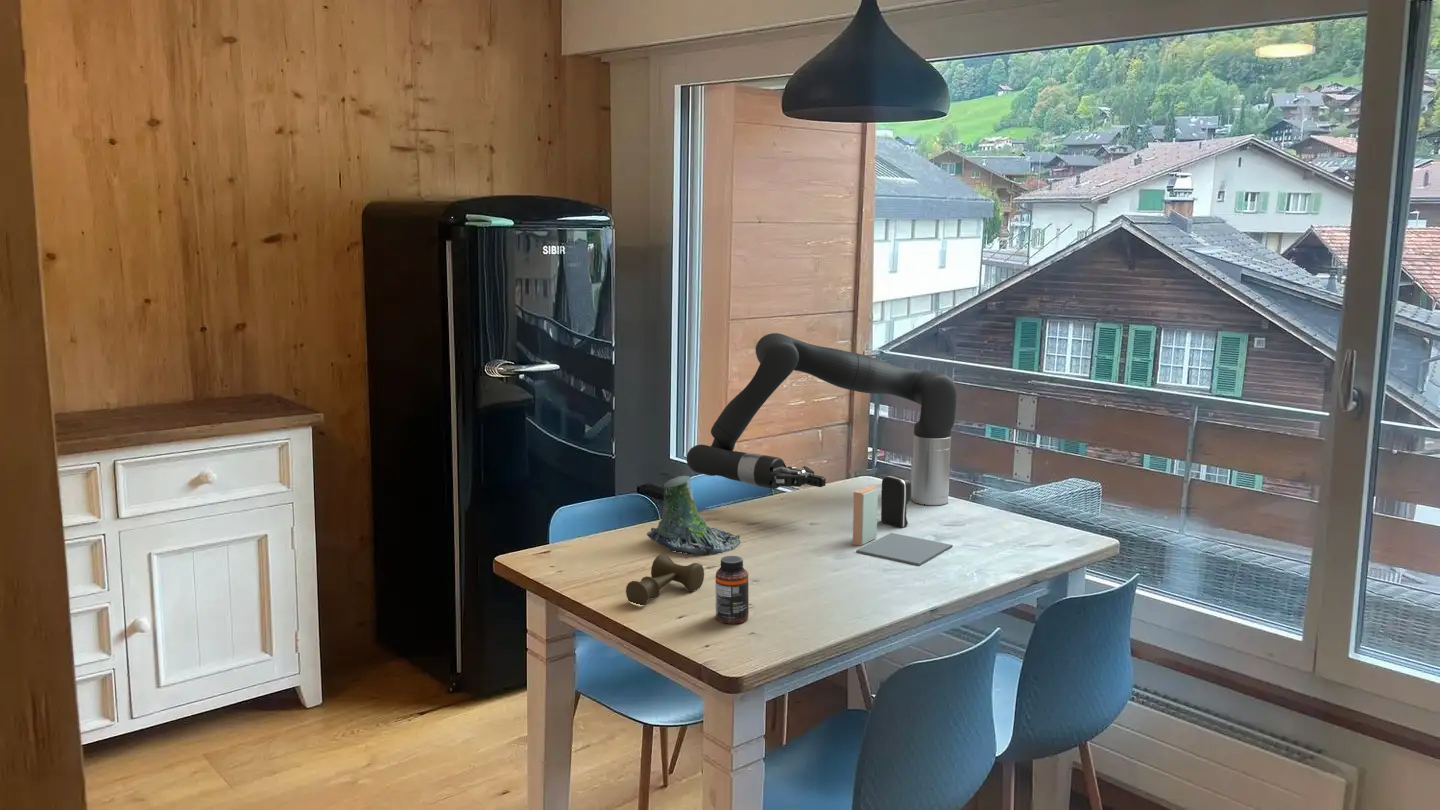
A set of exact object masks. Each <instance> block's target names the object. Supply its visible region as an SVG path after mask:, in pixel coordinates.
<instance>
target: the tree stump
mask: <svg viewBox="0 0 1440 810" xmlns="http://www.w3.org/2000/svg"><path fill="white" fill-rule="evenodd" d="M646 536H647V537H648V538H649V539H650V540H653V541H654V542H656V543H658V544H659V545H661V546H663V547H665V548H667V550H669V551H670V552H672V551H676V552H675V553H677V552H682V553H681V554H684V553H687V554H686V555H690V554H693V555H692V556H710V555H709V554H712V555H719V554H718V553H721V554H724V553H726V552H731V551H733V550H734V551H735V550H736V548H738V547H739V546H740V545H741V540H740V537H741V536H740V534H737V535H735V534H733V533H730V532H727V531H724V530H721V529H718V528H715V527H710V526H709V525H708V524H707V523H706V521H705V519H704V518H703V517H702V515H700V514H699V511H698V510H697V505H696V502H695V497H694V493H693V490H692V484H691V476H688V475H679V476H676V477H674V478H673V477H672V478H671V479H669V480H668V481H665V483H664V484H663V513H662V517H661V519H660V520H659V522H658V524H657V527H656V528H655V527H651V528H650V531H647V532H646ZM730 550H731V551H730ZM723 552H724V553H723Z"/></svg>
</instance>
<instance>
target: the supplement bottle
mask: <svg viewBox="0 0 1440 810" xmlns="http://www.w3.org/2000/svg"><path fill="white" fill-rule="evenodd" d="M749 601H750V600H749V572H748V570H747V569H746V568H744V559H743V558H742V557H741V556H737V555H725V556H722V557H721V558H720V567H719V569H717V571H716V572H715V605H714V606H715V618H716V620H717V621H719V622H720V621H721V623H723V624H727V623H728V624H729V625H732V624H734V625H735V624H741V623H745V621H746V620H748V618H749V608H750V607H749V605H750V604H749ZM728 624H727V625H728Z"/></svg>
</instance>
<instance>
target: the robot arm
mask: <svg viewBox="0 0 1440 810" xmlns="http://www.w3.org/2000/svg"><path fill="white" fill-rule="evenodd" d="M755 355H756V358H757V360H758V362H759V366H758V368H757V370H756V372H755V374H754V375H753V377H752V379H751V380H750V381H749V382H748V384H747V385H746V386H745V387H744V388H743V389H742V390H741V391H740V392H738V394H736V395H735V396H734V398H733V399H731V401H729V402H728V403H727V404H726V406H725V407H724V409H723V410H722V411H721V412H720V415H719V416H718V417H717V419H716V421H715V422H714V423H713V425H712V427H711V429H710V434H711V436H712V437H713V438H714V439H713V441H712V443H711V445H707V444H697V445H693V446H692V447H691V448H690V449H689V451H688V452H687V454H686V463H687V465H688V467H689V469H690V470H692V471H693V472H695V473H697V474H702V475H705V476H709V477H710V476H711V477H714V476H718V477H724V478H725V479H729V480H732V481H737V482H740V483H741V482H742V483H745V484H748V485H750V486H755V487H762V488H767V489H771V490H776V489H779V488H780V487H795V488H796V487H797V488H800V487H802V486H805V487H807V486H811V487H816V488H817V487H818V488H824V487H826V482H827V481H826V477H825V476H821V475H816V474H815V471H814V470H812V469H810V468H809V467H807V466H805V465H804V466H801V468H798V467H796V466H794V465H788V466H787V465H786V463H785V461H784V459H782V458H781V457H778V456H777V457H776V456H771V455H768V454H767V455H766V454H761V453H749V452H743V451H737V450H734V449H735V445H736V443H737V441H738V440H740V438H741V435H743V433H744V431H745V430H746V429H747V427H748V425H749V424H750V422H751V421H752V419H753V418H754V417H755V415H756V414H757V413H758V411H759V410H760V408H762V406H763V405H764V404H765V403H766V402H767V400H768V399H769V397H771V395H773V393H774V392H775V391H776V390H777V389H778V388H779V386H781V384H783V382H785V380H786V379H787V378H788V377H789V376H790V375H791V374H792V373H793V371H796V372H801V373H804V374H809V375H810V376H812V377H815V378H817V379H819V380H821V381H823V382H826V383H828V384H831V385H833V386H835V387H838V388H840V389H845V390H850V391H853V392H858V393H865V394H871V395H872V394H874V395H875V394H876V395H877V394H879V395H880V394H881V395H892V396H896V397H899V398H903V399H906V400H908V401H911V402H914V403H916V404H918V405H920V415H919V420H918V421H917V422H915V423H914V426H913V446H912V448H913V454H912V456H913V457H912V461H911V463H910V483H911V501H912V502H913V503H916V504H918V503H919V504H920V505H924V504H925V506H942V505H946V504H948V503H949V493H950V492H949V489H950V473H951V472H950V469H951V443H952V436H951V435H952V429H953V427H954V425H955V419H956V411H957V410H956V409H957V396H958V395H957V386H956V383H955V382H954V380H953V379H952V378H951V377H949V376H948V375H946V374H944V373H941V372H938V371H935V370H927V369H926V370H925V369H914V368H910V367H909V368H908V367H902V366H898V365H894V364H893V363H889V362H887V361H885V360H882V359H880V358H876V357H873V356H870V355H866V354H861V353H857V352H853V351H848V350H842V349H839V348H838V349H837V348H832V347H825V346H820V345H815V344H810V343H808V342H805V341H802V340H800V339H797V338H794V337H791V336H788V335H785V334H782V333H778V332H772V333H771V332H770V333H767V334H766V335H763V336H762V337H761V338H760V339H759V340H758V341H757V343H756V345H755ZM947 502H948V503H947ZM919 504H918V505H919Z"/></svg>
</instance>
